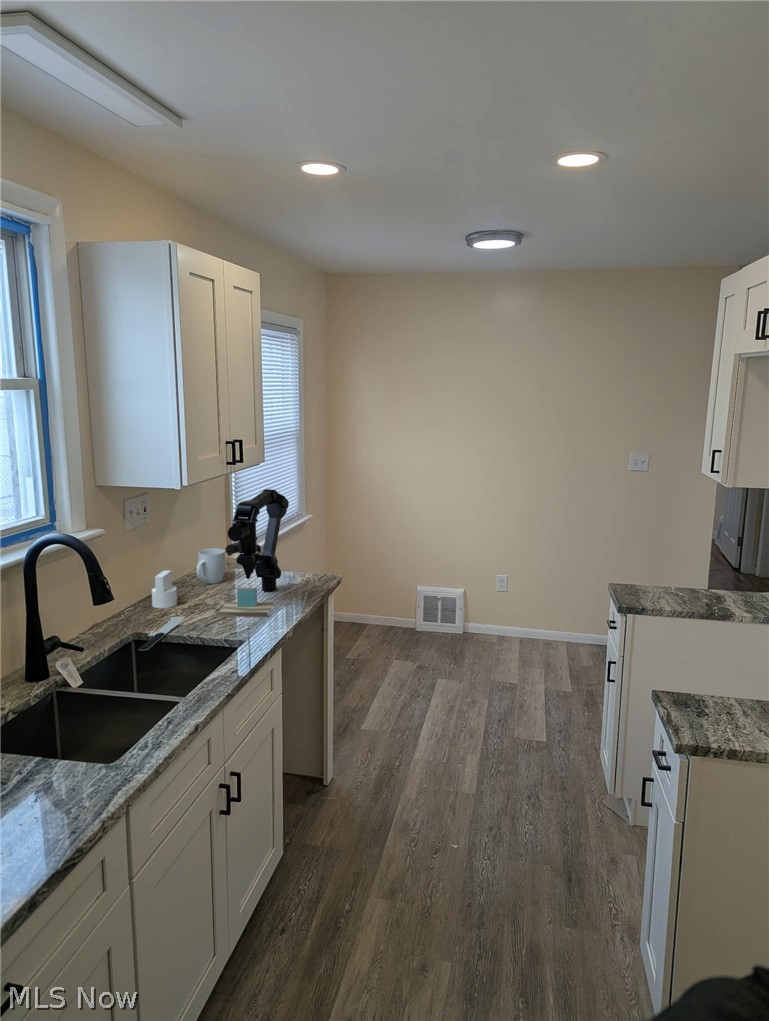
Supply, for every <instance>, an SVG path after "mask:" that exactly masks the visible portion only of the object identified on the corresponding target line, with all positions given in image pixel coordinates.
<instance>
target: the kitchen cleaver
mask: <svg viewBox="0 0 769 1021" xmlns="http://www.w3.org/2000/svg"><path fill="white" fill-rule="evenodd" d="M170 617H171V619H170V621H168V623H167V624H165V625H164V626H163V627H162V628H161V629H160V630H159V631H158V632H154V633H152V632H151V633H149V634H148V635H147V637H148V636H149V637H152V638H150V639H149V640H148V641H147V642H145V643H144V644H143V645H142V646H140V647H139V648H138V651H140V652H148V651H149V650H150V649H151V648H152V647H154V646H155V645H156V644H157V643H158V642H161V640H162V639H163V638H164V637H165V636H166V635H167V634H168V633H169V632H171V631H172V630H173V629H175V628H176V627H178V626H179V625H180V624H181V622H183V620H184V618H185V617H186V616H185V615H184V616H170Z"/></svg>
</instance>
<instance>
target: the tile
mask: <svg viewBox="0 0 769 1021" xmlns="http://www.w3.org/2000/svg"><path fill="white" fill-rule="evenodd" d="M257 589H258V588H257V587H244V586H243V587H237V588H236V595H237V596H236V599H237V601H236V602H237V606H238V607H257V602H258V590H257Z"/></svg>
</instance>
